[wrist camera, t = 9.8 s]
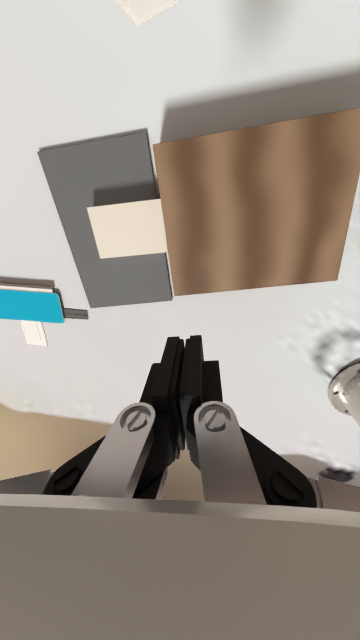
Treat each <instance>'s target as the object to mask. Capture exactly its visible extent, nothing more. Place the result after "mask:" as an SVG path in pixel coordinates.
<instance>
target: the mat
mask: <svg viewBox="0 0 360 640" xmlns="http://www.w3.org/2000/svg"><path fill="white" fill-rule="evenodd" d="M37 153H38V155H39V158H40V161H41V164H42V167H43V170H44V173H45V176H46V179H47V182H48V185H49V188H50V191H51V193H52V196H53V199H54V202H55V205H56V208H57V211H58V214H59V217H60V220H61V223H62V226H63V228H64V231H65V234H66V237H67V240H68V243H69V246H70V249H71V252H72V255H73V258H74V261H75V264H76V266H77V269H78V272H79V275H80V278H81V281H82V284H83V287H84V290H85V293H86V296H87V299H88V301H89V304H90V307H91V308H97V307H108V306H118V305H129V304H140V303H150V302H161V301H171V300H172V295H171V288H170V282H169V275H168V269H167V262H166V256H165V253H155V254H145V255H134V256H124V257H113V258H103V259H100V256H99V252H98V248H97V245H96V241H95V237H94V233H93V230H92V226H91V222H90V218H89V214H88V211H87V208H88V207H96V206H104V205H113V204H121V203H129V202H137V201H146V200H154V199H157V197H156V190H155V184H154V177H153V171H152V164H151V158H150V151H149V145H148V138H147V133H146V132H142V133H137V134H132V135H126V136H121V137H115V138H110V139H105V140H99V141H94V142H88V143H83V144H78V145H72V146H67V147H61V148H56V149H51V150H45V151H40V152H37Z"/></svg>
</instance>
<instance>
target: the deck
mask: <svg viewBox="0 0 360 640" xmlns="http://www.w3.org/2000/svg"><path fill="white" fill-rule="evenodd" d="M153 151H154V158H155V165H156V172H157V178H158V185H159V192H160V199H161V206H162V213H163V219H164V226H165V233H166V240H167V247H168V254H169V261H170V267H171V274H172V281H173V288H174V295H175V296H181V295H191V294H201V293H212V292H222V291H232V290H243V289H253V288H263V287H274V286H284V285H294V284H305V283H315V282H325V281H336V280H337V279H338V274H339V269H340V264H341V259H342V255H343V250H344V245H345V240H346V235H347V231H348V226H349V221H350V216H351V211H352V207H353V202H354V197H355V192H356V188H357V183H358V178H359V173H360V108H355V109H350V110H344V111H339V112H333V113H327V114H322V115H316V116H311V117H305V118H299V119H294V120H288V121H282V122H277V123H271V124H266V125H260V126H254V127H249V128H243V129H237V130H232V131H226V132H221V133H215V134H209V135H204V136H198V137H193V138H187V139H181V140H176V141H170V142H164V143H159V144H153Z"/></svg>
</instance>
